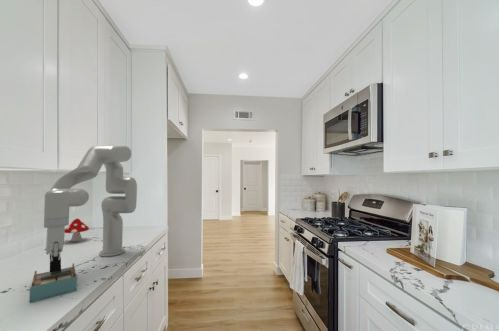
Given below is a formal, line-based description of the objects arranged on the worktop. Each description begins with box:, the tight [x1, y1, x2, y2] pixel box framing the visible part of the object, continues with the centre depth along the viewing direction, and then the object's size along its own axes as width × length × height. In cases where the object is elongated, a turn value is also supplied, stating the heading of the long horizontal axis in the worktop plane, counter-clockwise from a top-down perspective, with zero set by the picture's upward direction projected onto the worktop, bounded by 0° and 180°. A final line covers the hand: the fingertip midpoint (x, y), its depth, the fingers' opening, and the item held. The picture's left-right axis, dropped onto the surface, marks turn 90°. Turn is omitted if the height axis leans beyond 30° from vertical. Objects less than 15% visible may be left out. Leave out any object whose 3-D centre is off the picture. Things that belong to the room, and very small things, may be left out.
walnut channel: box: [31, 263, 77, 287], centre depth 95 cm, size 14×13×4 cm
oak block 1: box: [41, 278, 55, 285], centre depth 85 cm, size 4×4×4 cm
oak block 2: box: [57, 274, 71, 281], centre depth 88 cm, size 4×4×4 cm
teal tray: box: [29, 276, 78, 303], centre depth 86 cm, size 8×13×5 cm, turn 130°
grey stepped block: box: [41, 251, 72, 281], centre depth 90 cm, size 3×9×10 cm, turn 130°
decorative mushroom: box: [65, 218, 90, 243], centre depth 153 cm, size 14×14×15 cm
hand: (55, 269), depth 90 cm, fingers closed on grey stepped block, 3 cm apart
